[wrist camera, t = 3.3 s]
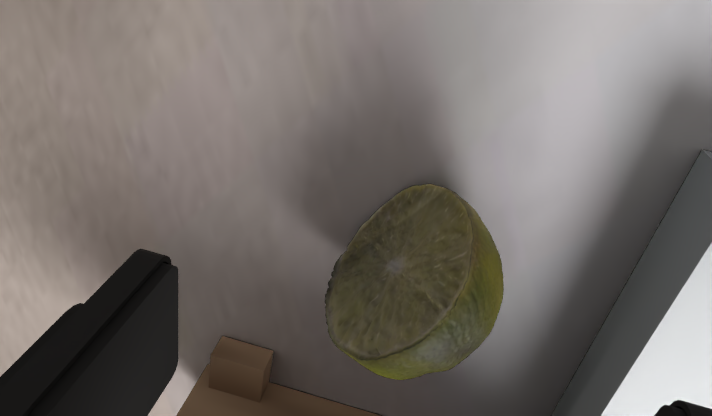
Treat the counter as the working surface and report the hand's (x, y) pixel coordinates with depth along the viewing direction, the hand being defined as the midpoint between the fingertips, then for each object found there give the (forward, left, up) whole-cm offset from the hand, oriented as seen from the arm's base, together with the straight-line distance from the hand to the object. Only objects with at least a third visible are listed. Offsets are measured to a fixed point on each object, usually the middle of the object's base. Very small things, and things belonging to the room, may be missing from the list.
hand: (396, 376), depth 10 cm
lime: (-1, 0, -7) cm, 7 cm away
